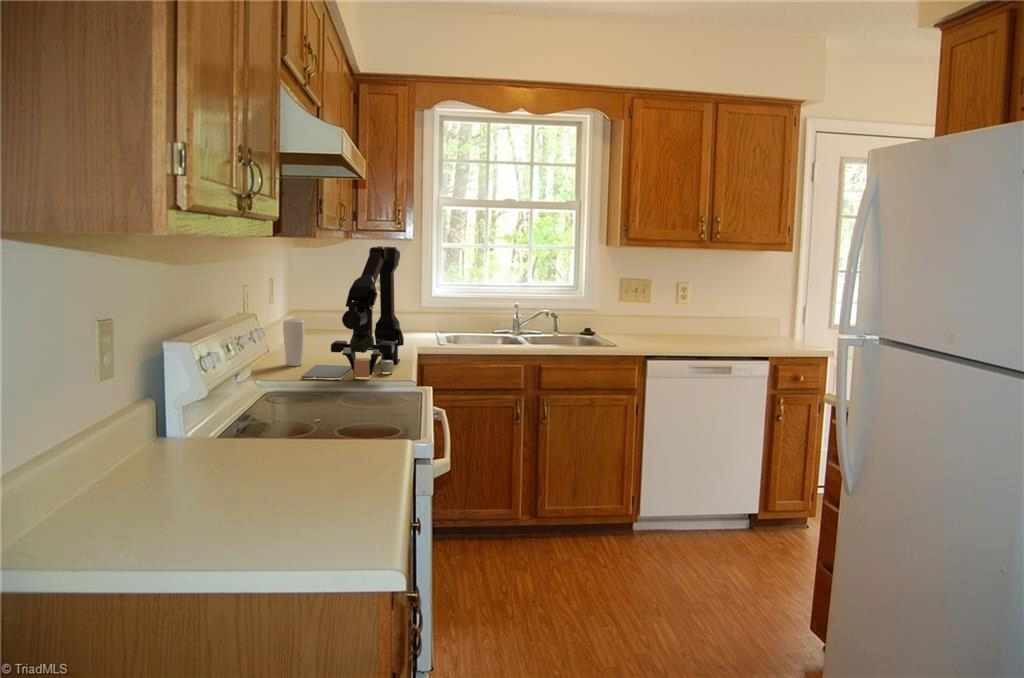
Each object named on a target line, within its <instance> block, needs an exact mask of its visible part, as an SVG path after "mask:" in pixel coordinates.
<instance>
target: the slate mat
mask: <svg viewBox="0 0 1024 678" xmlns="http://www.w3.org/2000/svg"><path fill="white" fill-rule="evenodd" d="M350 370H351V371H353V370H352V367H351V365H343V364H342V365H337V364H314V366H313V367H311V368H310V369H309V370H307V371H306V372H305V373H304V374H302V375H301V377H300V378H313V377H316V378H341V377H343V376H344V375H345V374H346V373H348V372H349V371H350ZM351 371H350V372H351ZM350 372H349V373H350ZM349 373H348V374H349Z"/></svg>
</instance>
